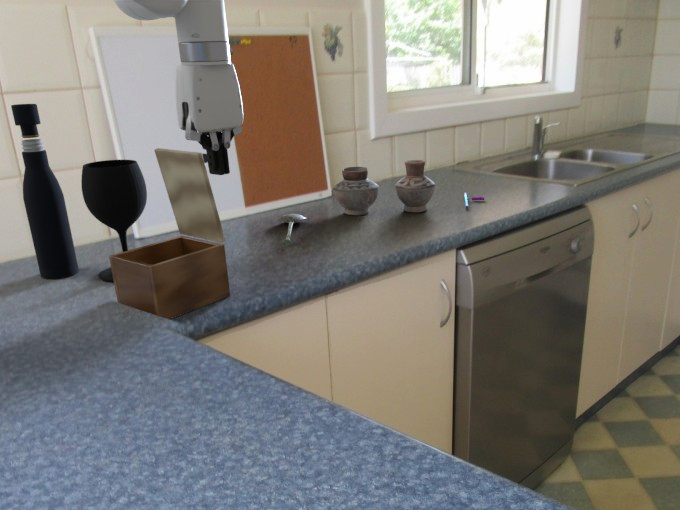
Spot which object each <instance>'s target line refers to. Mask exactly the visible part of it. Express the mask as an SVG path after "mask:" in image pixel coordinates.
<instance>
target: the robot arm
mask: <svg viewBox="0 0 680 510" xmlns="http://www.w3.org/2000/svg"><path fill="white" fill-rule="evenodd" d="M113 1H114V3H115V4H116V6H117V7H118V9H119V10H120V11H121V12H122V13H123V14H125V15H127V16H128V17H129V18H132V19H134V20H137V21H154V20H158V19H166V18H173V19H174V21H175V29H176V36H177V42H178V43H177V44H178V50H179V57H180V65H176V70H175V102H176V103H175V105H176V116H177V123H178V127H179V129H180V130H182V131H184V132H185V134H184V137H185V139H186V140H187V141H192V142H197V143H198V144H199V145H200V146H201V148H202V150H205V151H206V154H207V155H208V156H209V161H208V162H207V167H208V172H209V175H215V176H216V175H217V176H225V175H229V174H230V162H229V152H228V150H229V149H230V148H231V142H232V140H233V139H234V137H236V136H238V135H239V134H241V133H242V132H243V127H242V125H243V123H244V107H243V99H242V94H241V88H240V83H239V80H238V76H237V75H238V74H237V72H236V68H235V65H234V63H232V61H231V56H233V54H234V48H233V47H232V46H230V43H229V34H228V24H227V17H226V16H227V15H226V6H225V0H113Z"/></svg>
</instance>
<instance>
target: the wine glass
mask: <svg viewBox="0 0 680 510" xmlns="http://www.w3.org/2000/svg"><path fill="white" fill-rule="evenodd" d="M81 193H82V198H83V201H84V203H85V206H86V208H87V209H88V211H89V212H90V214H91V215H92V216H93V217H94V218H95V219H96V220H98V221H99V222H100V223H101V224H103V225H105V226H106V227H109V228H110V229H112V230H114V231H115V232H116V233H117V235H118V237H119V241H120V245H121V252H125V251H128V250H129V247H128V240H127V238H128V236H127V234H128V229H130V228H131V227H132V226H133V225H134V224H135V223H136V222H137V221H138V220H139V218H140V217H141V216H142V215H143V213H144V210H145V208H146V205H147V201H148V200H147V199H148V191H147V184H146V181H145V177H144V175H143V172H142V169H141V168H140V165H139V163H138V161H137V160H134V159H109V160H108V159H107V160H99V161H92V162H88V163H84V164H83V165H82V170H81ZM98 278H99V280H101V281H103V282H106V283H114V280H113V275H112V269H111V266H110V267H107V268H105V269H103V270H102V271H100V272H99V274H98Z"/></svg>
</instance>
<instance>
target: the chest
mask: <svg viewBox="0 0 680 510" xmlns="http://www.w3.org/2000/svg"><path fill="white" fill-rule="evenodd" d="M108 258H109V264H110V267H111V269H112V275H113V280H114V282H113V285H114V286H113V287H114V291H115V296H116V301H117V304H121V305H124V306H126V307H129V308H133V309H136V310H139V311H141V312H145V313H149V314H151V315H154V316H157V317H161V318H164V319H166V320H169V319H170V318H172V317H175V316H177V317H179V316H178V315H180V314H182V315H184V314H183V313H185V314H187V313H186V312H188V311H190V312H192V311H191V310H193V311H195V310H198V309H200V308H203V307H206V306H208V305H211V304H214V303H215V302H218V301H221V300H223V299H226V298H228V297H231V289H230V288H231V287H230V281H229V274H228V266H227V265H228V264H227V256H226V248H225V244H223V243H220V242H215V241H210V240H205V239H201V238H196V237H191V236H187V235H179V236H176V237H171V238H168V239H164V240H161V241H157V242H153V243H150V244H147V245H143V246H139V247H136V248H132V249H128V251H125V252H123V251H121V252H117V253H114V254H111V255H109V256H108ZM202 306H203V307H202ZM188 313H189V312H188ZM180 316H181V315H180ZM175 318H176V317H175ZM172 319H173V318H172ZM170 320H171V319H170Z"/></svg>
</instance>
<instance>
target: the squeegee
mask: <svg viewBox="0 0 680 510" xmlns="http://www.w3.org/2000/svg"><path fill="white" fill-rule="evenodd" d="M463 197H464V205H465V209H469V202H468V201H469V200H471V201H485V196H472V197H471V198H470V197H469V196H468V197H467V192H463Z"/></svg>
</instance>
